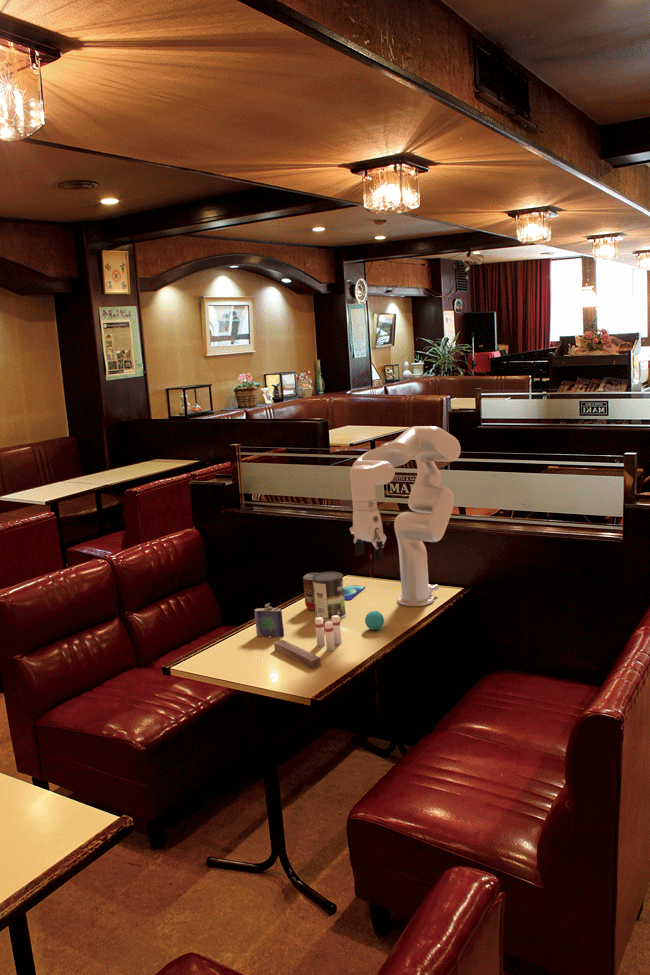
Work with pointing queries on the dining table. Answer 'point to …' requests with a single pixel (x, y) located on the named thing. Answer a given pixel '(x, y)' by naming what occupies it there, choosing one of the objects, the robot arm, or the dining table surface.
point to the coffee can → (329, 595)
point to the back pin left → (329, 636)
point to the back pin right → (319, 631)
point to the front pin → (336, 629)
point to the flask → (269, 622)
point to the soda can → (309, 591)
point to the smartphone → (352, 591)
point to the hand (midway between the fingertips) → (369, 557)
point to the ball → (374, 620)
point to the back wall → (297, 654)
